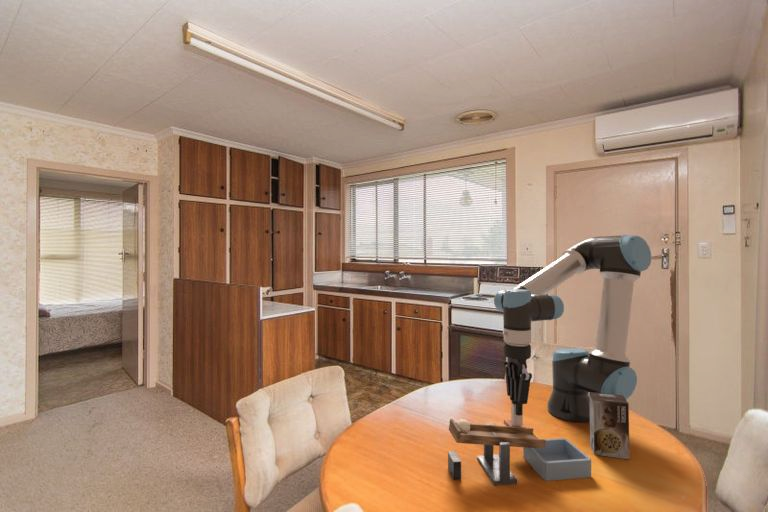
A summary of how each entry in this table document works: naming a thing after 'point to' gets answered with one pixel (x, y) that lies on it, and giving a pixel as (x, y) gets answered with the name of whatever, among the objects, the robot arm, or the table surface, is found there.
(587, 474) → the dish
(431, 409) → the table surface
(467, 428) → the ball
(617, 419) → the coffee box
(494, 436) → the lever
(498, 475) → the fulcrum
